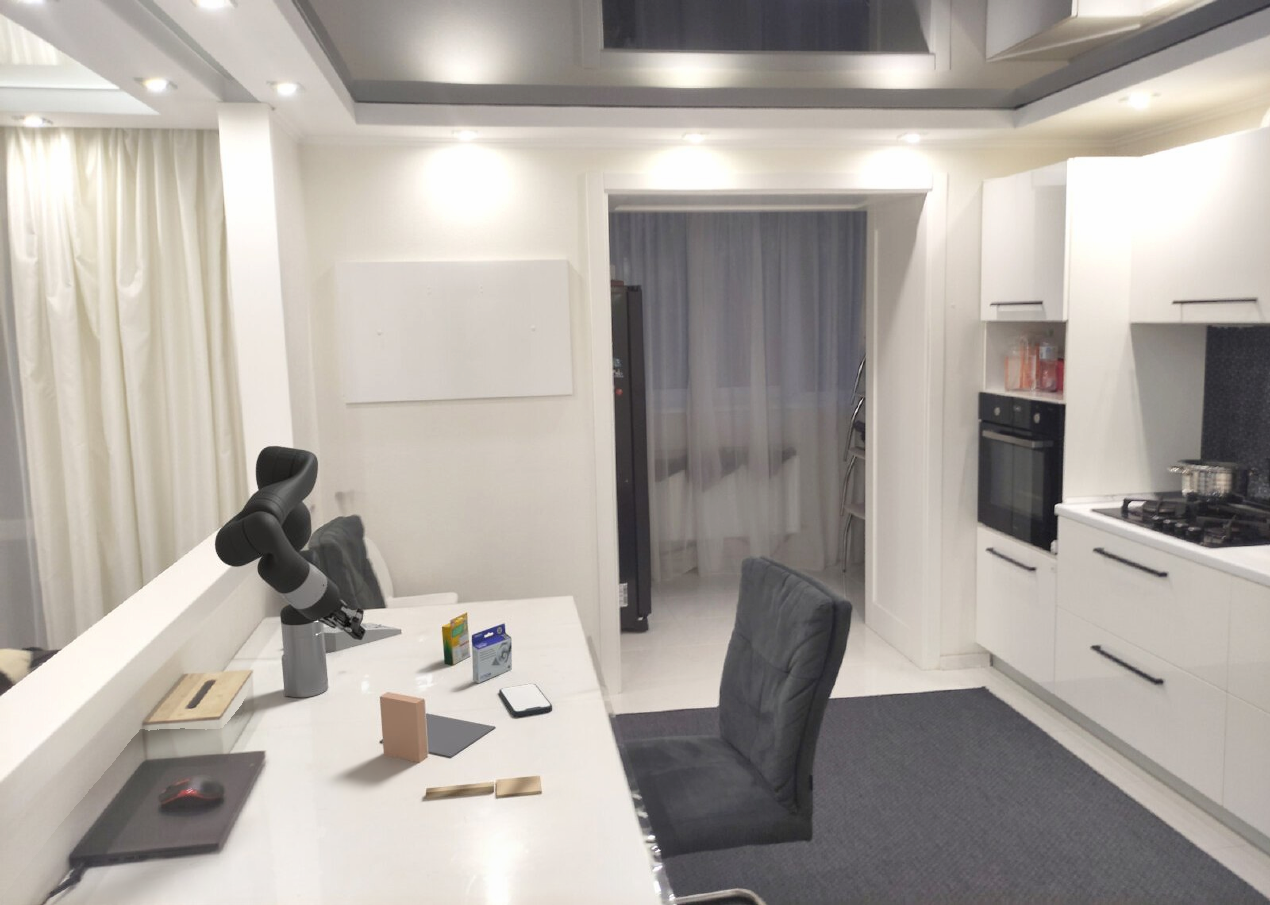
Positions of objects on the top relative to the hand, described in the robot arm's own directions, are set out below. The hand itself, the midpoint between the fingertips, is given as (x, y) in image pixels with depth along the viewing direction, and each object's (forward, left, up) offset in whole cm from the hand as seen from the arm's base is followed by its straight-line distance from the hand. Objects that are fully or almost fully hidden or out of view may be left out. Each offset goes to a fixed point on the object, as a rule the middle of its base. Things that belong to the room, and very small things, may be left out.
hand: (360, 635), depth 184 cm
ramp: (-15, +78, -26) cm, 84 cm away
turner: (+23, -16, -26) cm, 38 cm away
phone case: (+31, +25, -26) cm, 47 cm away
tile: (+7, +2, -26) cm, 27 cm away
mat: (+12, +11, -26) cm, 30 cm away
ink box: (+24, +42, -26) cm, 55 cm away
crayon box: (+15, +55, -26) cm, 63 cm away
